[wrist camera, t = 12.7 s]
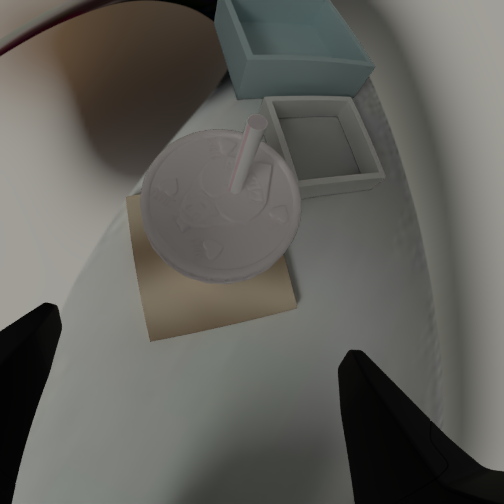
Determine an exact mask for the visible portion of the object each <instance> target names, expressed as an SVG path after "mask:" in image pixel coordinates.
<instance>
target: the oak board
mask: <svg viewBox="0 0 504 504" xmlns="http://www.w3.org/2000/svg"><path fill="white" fill-rule="evenodd" d="M140 196H141V194H138V195H133V196H128V197H126V202H127V211H128V219H129V227H130V234H131V241H132V248H133V255H134V261H135V267H136V273H137V279H138V284H139V290H140V295H141V300H142V306H143V310H144V315H145V320H146V325H147V329H148V334H149V338H150V342H151V341H156V340H161V339H166V338H171V337H176V336H181V335H186V334H191V333H195V332H200V331H205V330H209V329H214V328H218V327H223V326H227V325H231V324H236V323H240V322H244V321H248V320H253V319H257V318H261V317H265V316H269V315H273V314H277V313H281V312H285V311H288V310H292V309H296V308H297V304H296V300H295V296H294V292H293V288H292V285H291V281H290V277H289V273H288V269H287V265H286V261H285V257H284V254H283V255H282V256H281V257H280V258H279V259H278V260H277V261H276V262H275V263H274V264H273V265H272V266H271V267H270V268H269V269H268V270H266V271H264V272H262V273H261V274H259V275H257V276H255V277H253V278H251V279H249V280H245V281H240V282H236V283H232V284H212V283H204V282H201V281H198V280H194V279H191V278H188V277H185V276H184V275H182V274H180V273H179V272H177V271H176V270H174V269H173V268H171V267H170V266H168V265H167V264H166V263H165V262H164V261H163V260H162V259H161V257H160V256H159V255H158V254H157V253H156V252H155V251H154V249H153V248H152V246H151V244H150V242H149V240H148V237H147V235H146V233H145V231H144V227H143V220H142V215H141V208H140Z"/></svg>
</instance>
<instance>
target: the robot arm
mask: <svg viewBox="0 0 504 504" xmlns="http://www.w3.org/2000/svg"><path fill="white" fill-rule="evenodd" d="M61 331H62V323H61V319H60V314H59V310H58V307H57V305H54V304H51V303H43V304H42V305H40V306H39V307H37V308H35V309H34V310H32V311H31V312H29V313H28V314H26V315H24V316H23V317H21V318H20V319H18V320H17V321H15V322H14V323H12V324H11V325H9V326H8V327H6V328H5V329H3V330H2V331H0V504H12V499H13V494H14V490H15V485H16V484H15V483H16V480H17V476H18V471H19V467H20V463H21V459H22V456H23V452H24V448H25V445H26V441H27V438H28V435H29V431H30V428H31V425H32V422H33V419H34V415H35V412H36V409H37V406H38V404H39V401H40V398H41V395H42V392H43V389H44V387H45V384H46V381H47V379H48V376H49V373H50V370H51V366H52V362H53V359H54V355H55V351H56V348H57V344H58V341H59V338H60V334H61ZM338 381H339V395H340V409H341V417H342V423H343V429H344V435H345V441H346V447H347V454H348V460H349V466H350V473H351V480H352V487H353V494H354V502H355V504H504V472H503V471H496V470H490V469H488V468H485V467H483V466H481V465H480V464H479V463H478V462H476V461H475V460H474V459H473V458H472V457H470V456H469V455H468V454H467V453H466V452H464V451H463V450H462V449H461V448H459V446H457V445H456V444H455V443H454V442H453V441H452V440H450V439H449V438H448V437H447V436H446V435H445V434H444V433H443V432H442V431H441V430H440V429H439V428H438V427H437V426H436V425H435V424H434V423H433V422H432V421H430V419H429V418H428V417H427V416H426V415H425V414H424V413H423V412H422V411H421V410H420V409H419V408H418V407H417V406H416V405H415V404H414V403H413V402H412V401H411V400H410V398H409V397H408V396H407V395H406V394H405V393H404V392H403V391H402V390H401V389H400V388H399V387H398V386H397V385H396V384H395V383H394V382H393V381H392V380H391V379H390V378H389V377H388V376H387V375H386V374H385V373H384V372H383V371H382V370H381V369H380V368H379V367H378V366H377V365H376V364H375V363H374V362H373V361H372V360H371V359H370V358H369V357H368V356H367V355H366V354H365V353H364V352H363V351H361V350H349V351H348V352H347V354H346V356H345V357H344V359H343V360H342V362H341V364H340V365H339V368H338Z"/></svg>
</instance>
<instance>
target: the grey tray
mask: <svg viewBox="0 0 504 504" xmlns="http://www.w3.org/2000/svg"><path fill="white" fill-rule="evenodd" d="M258 114H259V115H262V116H263V117H265V118H266V120H267V122H268V125H267V127H266V130H265V132H264V136H265V139H266V142H267V145H269V146H270V147H272V148H273V149H274V150H275V151H276V152H277V153H278V154H279V155H280V156H281V157H282V158H283V159H284V160H285V161H286V163H287V164H288V165H289V167H290V169H291V170H292V172H293V174H294V176H295V178H296V180H297V183H298V186H299V190H300V195H301V199H303V198H310V197H317V196H325V195H332V194H340V193H347V192H355V191H363V190H371V189H372V188H374V187H375V186H376V185H377V184H379V183H380V182H381V181H382V180H384V179H385V178H386V176H385V173H384V171H383V168H382V166H381V163H380V161H379V158H378V156H377V153H376V151H375V148H374V146H373V144H372V141H371V139H370V137H369V134H368V132H367V130H366V128H365V125H364V123H363V121H362V119H361V117H360V115H359V113H358V110H357V108H356V106H355V104H354V102H353V100H352V98H351V97H342V96H270V97H264V99H263V102H262V104H261V107H260V110H259V113H258ZM292 117H338V119H339V121H340V124H341V126H342V128H343V131H344V133H345V135H346V138H347V140H348V143H349V145H350V148H351V150H352V153H353V155H354V158H355V160H356V163H357V165H358V168H359V171H360V173H361V174H354V175H344V176H334V177H325V178H316V179H307V180H298V177H297V174H296V171H295V167H294V164H293V161H292V158H291V155H290V152H289V149H288V146H287V143H286V140H285V137H284V134H283V131H282V128H281V126H280V123H279V120H278V118H292Z"/></svg>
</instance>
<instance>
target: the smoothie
mask: <svg viewBox="0 0 504 504" xmlns="http://www.w3.org/2000/svg"><path fill="white" fill-rule="evenodd" d="M267 125H268V122H267V120H266V118H265V117H263V116H262V115H259V114H253V115H250V116H249V117H248V119H247V122H246V125H245V129H244V132H243V133H242V132H238V131H232V130H223V129H213V130H204V131H199V132H195V133H192V134H189V135H187V136H184V137H182V138H180V139H178V140H177V141H175V142H173V143H172V144H170V145H169V146H168V147H166V148H165V149H164V150H163V151H162V152H161V153H160V154H159V155H158V156H157V157H156V159H155V160H154V161H153V163H152V164H151V166H150V168H149V169H148V171H147V173H146V175H145V178H144V181H143V185H142V189H141V196H140V208H141V215H142V220H143V227H144V231H145V233H146V235H147V237H148V240H149V242H150V244H151V246H152V248H153V249H154V251H155V252H156V253H157V254H158V255H159V256H160V257H161V259H162V260H163V261H164V262H165V263H166V264H167V265H168V266H170V267H171V268H173V269H174V270H176V271H177V272H179V273H180V274H182V275H184V276H185V277H188V278H191V279H194V280H198V281H201V282H204V283H212V284H232V283H236V282H240V281H245V280H249V279H251V278H253V277H255V276H257V275H259V274H261V273H262V272H264V271H266V270H268V269H269V268H270V267H271V266H272V265H273V264H274V263H275V262H276V261H277V260H278V259H279V258H280V257H281V256H282V255H283V254H284V252H285V251H286V250H287V249H288V247H289V246H290V244H291V243H292V241H293V239H294V237H295V235H296V233H297V230H298V227H299V224H300V219H301V210H302V203H301V195H300V190H299V186H298V183H297V180H296V178H295V176H294V174H293V172H292V170H291V169H290V167H289V165H288V164H287V163H286V161H285V160H284V159H283V158H282V157H281V156H280V155H279V154H278V153H277V152H276V151H275V150H274V149H273V148H272V147H270V146H269V145H267V144H266V143H264V142H263V141H261V140H262V137H263V135H264V132H265V130H266V127H267Z"/></svg>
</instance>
